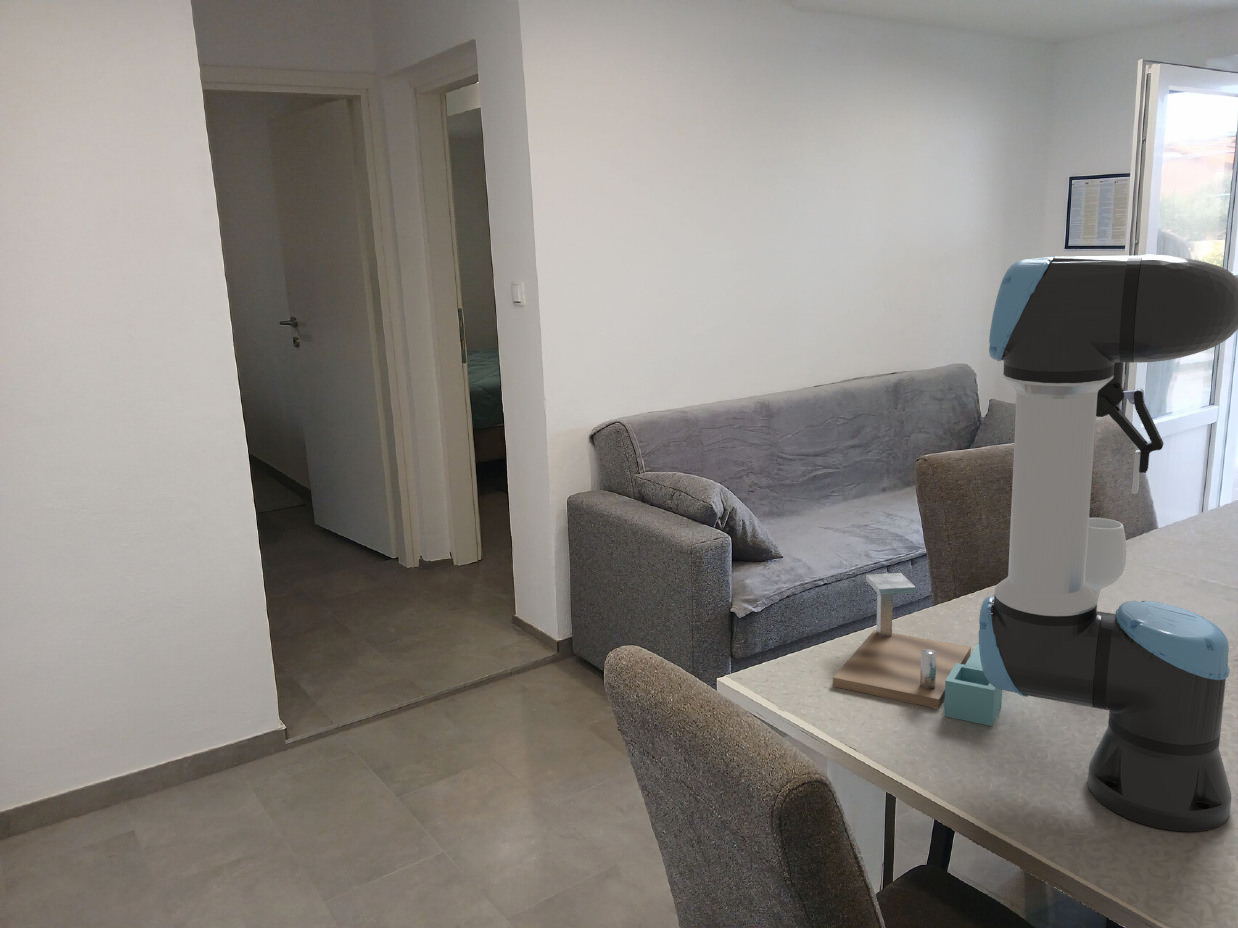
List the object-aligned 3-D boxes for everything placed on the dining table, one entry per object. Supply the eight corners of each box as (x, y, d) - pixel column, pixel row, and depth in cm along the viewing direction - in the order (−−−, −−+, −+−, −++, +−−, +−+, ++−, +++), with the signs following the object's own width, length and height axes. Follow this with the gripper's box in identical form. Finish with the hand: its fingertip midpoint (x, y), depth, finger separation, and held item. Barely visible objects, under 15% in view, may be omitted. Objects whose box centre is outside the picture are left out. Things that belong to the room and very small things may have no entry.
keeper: (913, 655, 158) (915, 586, 155) (877, 657, 158) (879, 589, 155) (899, 638, 165) (901, 572, 162) (864, 640, 164) (866, 574, 162)
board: (938, 708, 140) (938, 699, 140) (832, 686, 148) (833, 677, 148) (970, 655, 157) (970, 646, 157) (874, 637, 166) (874, 629, 165)
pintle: (932, 699, 143) (934, 656, 141) (918, 696, 144) (919, 653, 142) (936, 693, 144) (938, 650, 143) (921, 690, 146) (923, 648, 144)
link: (992, 726, 134) (994, 690, 133) (943, 715, 138) (945, 680, 137) (1018, 670, 151) (1020, 637, 150) (974, 662, 155) (976, 630, 153)
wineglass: (1122, 638, 161) (1132, 519, 157) (1118, 658, 154) (1128, 533, 149) (1065, 630, 166) (1073, 513, 161) (1059, 648, 158) (1067, 527, 154)
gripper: (1189, 357, 148) (1177, 490, 153) (1018, 353, 161) (1011, 475, 166) (1187, 362, 142) (1174, 501, 147) (1009, 358, 155) (1002, 485, 160)
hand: (1087, 487), depth 156 cm, fingers open, 13 cm apart
